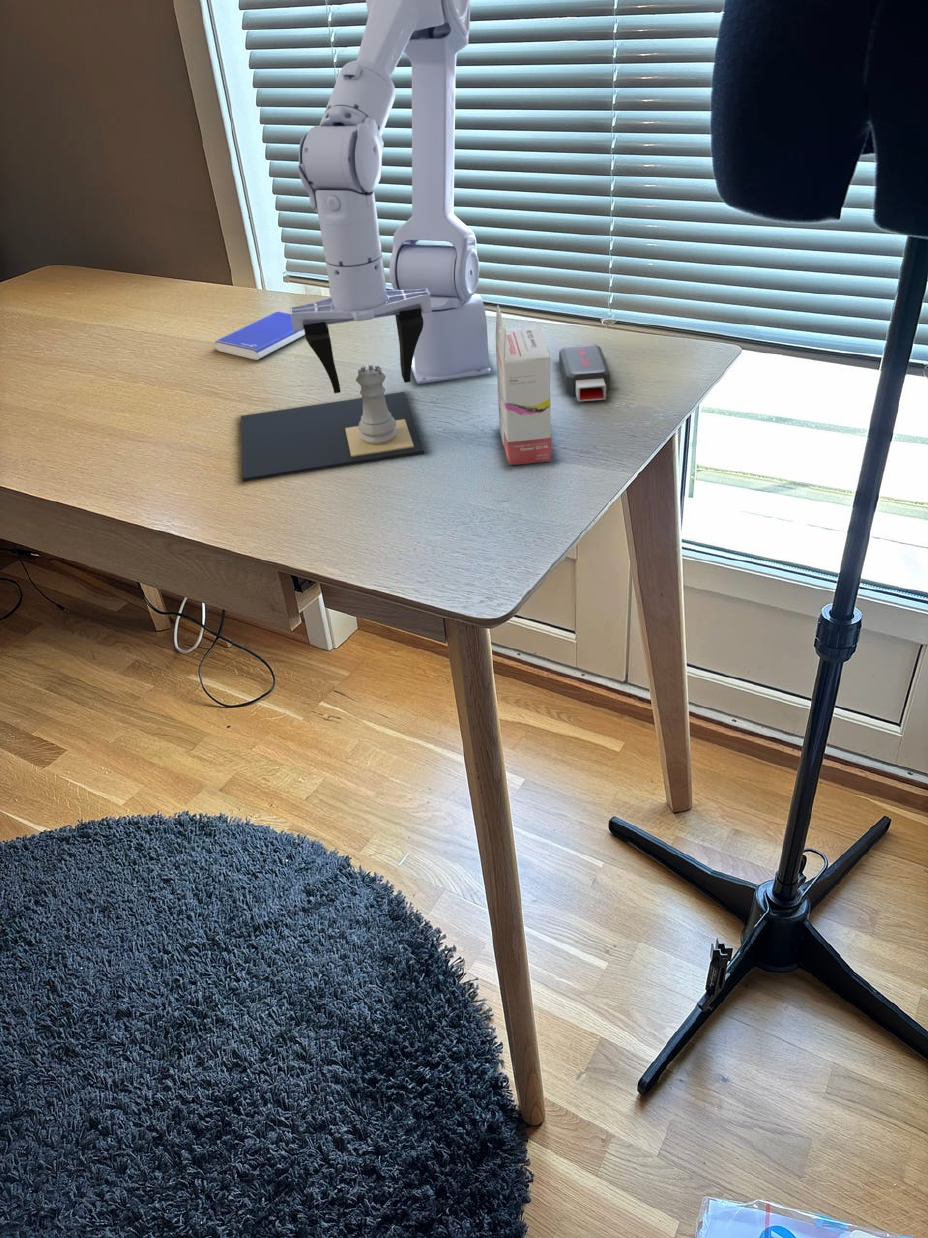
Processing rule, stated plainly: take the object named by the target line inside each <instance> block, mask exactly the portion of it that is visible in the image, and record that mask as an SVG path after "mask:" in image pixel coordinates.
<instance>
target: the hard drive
mask: <svg viewBox="0 0 928 1238" xmlns="http://www.w3.org/2000/svg"><path fill="white" fill-rule="evenodd" d="M303 336H305V331H304V330H303V331H297V332H294V330H293V325H292V320H291V314H290V313H288V312H287V313H286V312H281V311H275V312H273V313H271V314H269V315H267V316H265V317H262V318H261V319H259V320H257V321H254V322H253V323H250V324H248V325H246V326H244V327H242V328H240V329H238V330H236V331H234V332H231V333H229V334H227V335H225V336H223V337H221V338H218V339H217V340H215V341H214V345H215V349H216V350H217V351H218V352H221V353H226V354H230V355H234V356H238V357H243V358H246V359H251V360H254V361H257V360H260V359H261V358H264V357H265V356H267V355H269V354H271V353H273V352H275V351H277V350H279V349H280V348H282V347H285V346H286V345H288V344H290V343H293V342H294V341H296V340H298V339H300V338H302V337H303Z"/></svg>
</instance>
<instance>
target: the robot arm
mask: <svg viewBox="0 0 928 1238" xmlns="http://www.w3.org/2000/svg"><path fill="white" fill-rule="evenodd" d="M365 4H366V9H367V13H368V16H367V21H366V24H365V27H364V31H363V35H362V39H361V42H360V46H359V51H358V53H357V58H356V60H351V61H349V62H347V63H346V64H344V65H343V66H342V67H341V69H340V72H339V74H338V77H337V79H336V82H335V83H334V87H333V89H332V92H331V95H330V97H329V100H328V102H327V104H326V107H325V110H324V112H323V115H322V117H321V120H320V122H319V125H314V126H313V127H311V128H310V129H309V130H308V132H305V133H304V134H303V135H302V138H301V139H300V142H299V146H298V165H297V170H298V175H299V178H300V180H301V183H302V185H303V187H304V188H305V189H306V191H307V194H308V198H309V202H310V208H312V211H313V212H315V213H317V216H318V223H319V229H320V235H321V236H320V237H321V241H322V242H321V243H322V247H323V253H324V255H323V256H324V261H325V266H326V273H327V279H328V285H329V292H330V297H329V298H325V299H320V300H317V301H313V302H310V303H306V304H302V305H297V306H290V307H289V314H291V320H292V325H293V330H294V332H297V331H303V330H304V331H305V335H304V336H305V340H306V342H307V343H308V345H309V347H310V348H311V349H312V350H313V352H314V354H315V355H316V356H317V358H318V359H319V361H320V362H321V364H322V366H323V368H324V370H325V372H326V374H327V376H328V377H329V381H330V383H331V385H332V386H331V387H332V389H333V393H334V394H340V393H341V386H340V381H339V375H338V372H337V368H336V364H335V360H334V354H333V353H334V352H333V346H332V340H331V336H330V330H329V326H328V325H335V324H342V323H350V322H363V321H369V320H373V319H376V318H377V319H378V318H384V317H390V316H391V317H392V316H395V317H394V318H395V322H396V330H397V336H398V337H397V338H398V343H399V361H400V362H399V363H400V364H399V365H400V373H401V377H402V380H403V383H405V384H407V383H411V379H412V376H411V375H412V374H413V377H414V379H415V382H416V383H417V384H419V385H422V384H428V383H429V384H430V383H435V382H441V381H448V380H449V381H451V380H456V379H462V378H469V377H470V378H471V377H476V376H482V375H489V374H491V368H490V355H489V339H488V338H489V337H488V323H487V315H486V309H485V304H484V301H483V298H482V296H481V295H480V294H475V293H476V291H477V290H478V289H477V288H478V285H479V279H480V261H479V256H478V251H477V250H478V249H477V238H476V234H475V233H474V232H473V230H472V229H471V228H470V227H469V226H467V225H466V224H465V223H464V222H463V221H461V219H459V217H457V216H456V215H455V213H454V212H455V210H454V208H455V207H454V206H455V204H454V203H455V143H456V142H455V141H456V139H455V136H456V135H455V134H456V129H455V127H456V71H457V70H456V69H457V68H456V67H457V55H458V53H459V52H461V51H462V50H463V49H465V48H466V47H467V46H468V45H469V34H470V31H471V29H470V28H471V0H365ZM403 54H405V55H406V56H407V58H408V60H409V62H410V65H411V212H412V213H411V216H410V217H409V218H408V219H407V220H406V221H405V222H404V223H403V224H402V225H401V226H399V227H398V228H397V229H396V230H395V232H394V233H393V237H392V252H391V256H390V259H389V269H388V270H389V272H388V274H389V281H390V284H391V287H392V289H387V283H386V276H385V275H386V274H385V267H384V260H383V251H382V244H381V236H380V228H379V219H378V211H377V204H376V195H375V194H376V193H375V190H376V188H377V187H378V185H379V182H380V181H381V176H382V168H383V152H384V145H385V144H384V143H385V142H384V140H383V137H382V136H383V133H384V130H385V127H386V125H387V121H388V119H389V116H390V113H391V111H392V108H393V105H394V102H395V100H396V88H395V84H394V82H393V80H392V76H393V75H394V72H395V69H396V68H397V66H398V64H399V62H400V60H401V58H402V55H403ZM419 241H428V242H429V241H431V242H448V243H450V244H428V243H427V244H424V243H423V244H422V243H418V242H419Z"/></svg>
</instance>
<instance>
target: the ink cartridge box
mask: <svg viewBox="0 0 928 1238" xmlns="http://www.w3.org/2000/svg"><path fill="white" fill-rule="evenodd" d="M495 318H496V319H495V357H496V376H497V379H496V380H497V397H498V400H497V401H498V423H499V425H498V426H499V434H500V437H501V441H502V445H503V449H504V452H505V456H506V460H507V462H508V465H509V466H514V465H523V464H524V465H525V464H535V463H547V462H551V461H552V430H551V429H552V423H551V422H552V421H551V419H552V417H551V416H552V415H551V355H550V353H549V350H548V346H547V344H546V341H545V339H544V336H543V333H542V331H541V329H540V327H531V328H523V329H513V330H506V326H505V323H504V318H503V315H502V313H501V309H500V305H499V304H497V305H496V316H495Z"/></svg>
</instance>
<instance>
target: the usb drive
mask: <svg viewBox="0 0 928 1238" xmlns="http://www.w3.org/2000/svg"><path fill="white" fill-rule="evenodd" d="M558 351H559V352H558V365H559V369H560V373H561V376H562V380H563V384H564V388H565V391H566V394H568V395H570V396H571V397H576V400H577V402H591V401H603V400H604V401H605V400H606V399H607V394H608V392H609V391H610V389H611V388H610V385H611V373H610V369H609V367H608V364H607V362H606V361H607V360H606V358H605V356H604V353H603V350H602V348H601V346H599V345H598V344H582V345H570V346H563V347H562V348H560V349H559V350H558Z"/></svg>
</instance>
